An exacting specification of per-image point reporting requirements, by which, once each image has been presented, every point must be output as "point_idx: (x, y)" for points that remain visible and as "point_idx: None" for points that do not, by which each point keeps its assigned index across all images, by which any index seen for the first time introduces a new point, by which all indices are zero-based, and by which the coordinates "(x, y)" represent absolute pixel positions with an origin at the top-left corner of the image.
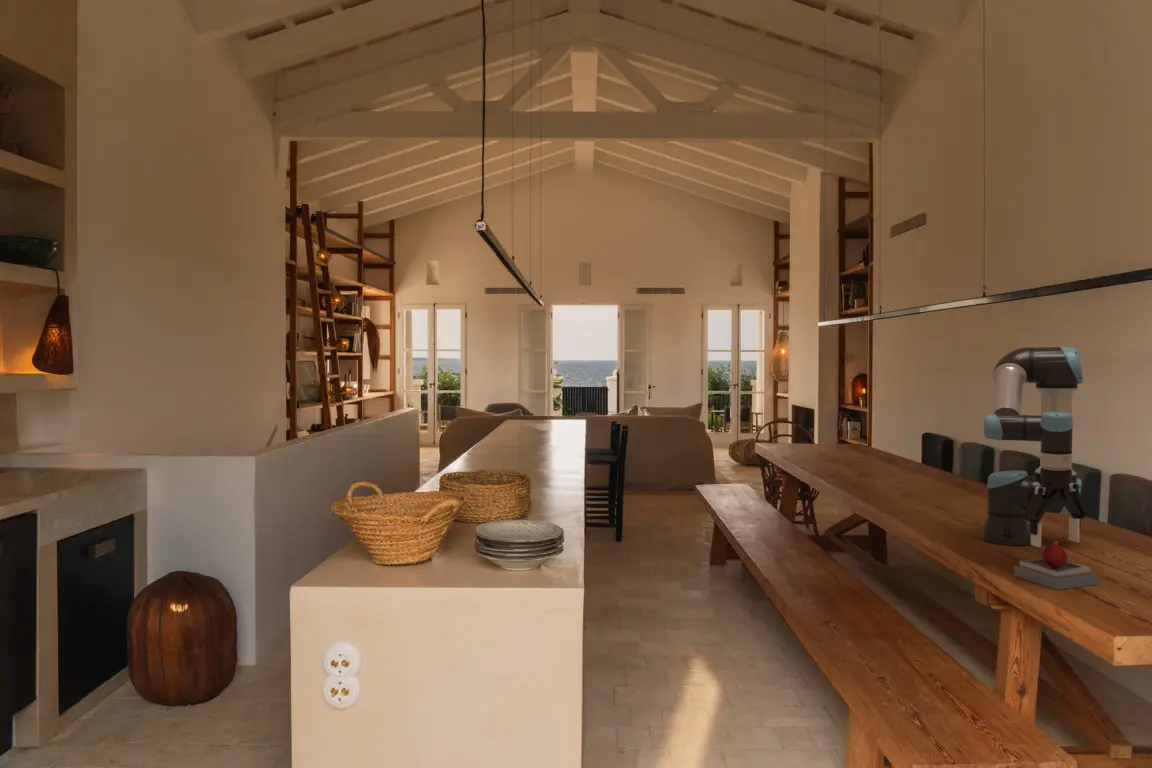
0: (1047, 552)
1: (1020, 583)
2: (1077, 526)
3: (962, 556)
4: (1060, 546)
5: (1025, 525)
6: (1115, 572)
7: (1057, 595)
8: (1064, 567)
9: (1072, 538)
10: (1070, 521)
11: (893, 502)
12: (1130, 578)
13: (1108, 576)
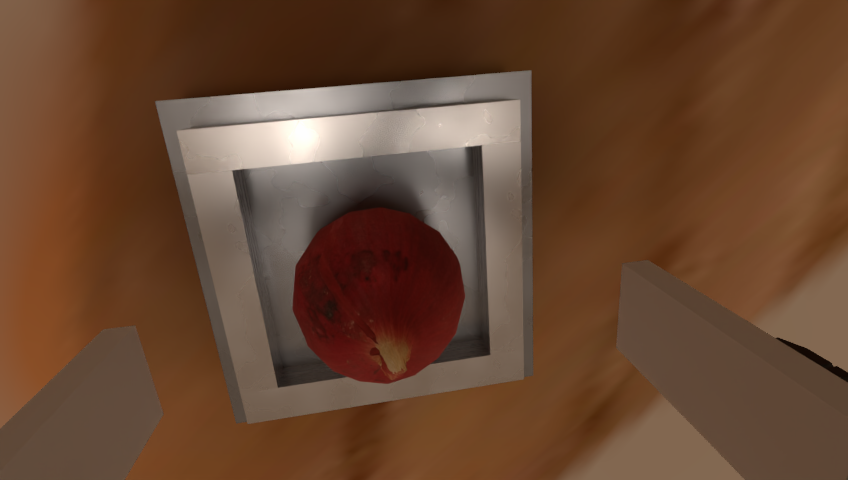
0: (299, 318)
1: (121, 249)
2: (730, 462)
3: None
4: (417, 360)
5: None
6: (787, 185)
7: (188, 451)
8: (469, 233)
9: (631, 314)
10: (787, 405)
11: None
12: (745, 286)
13: (689, 237)
